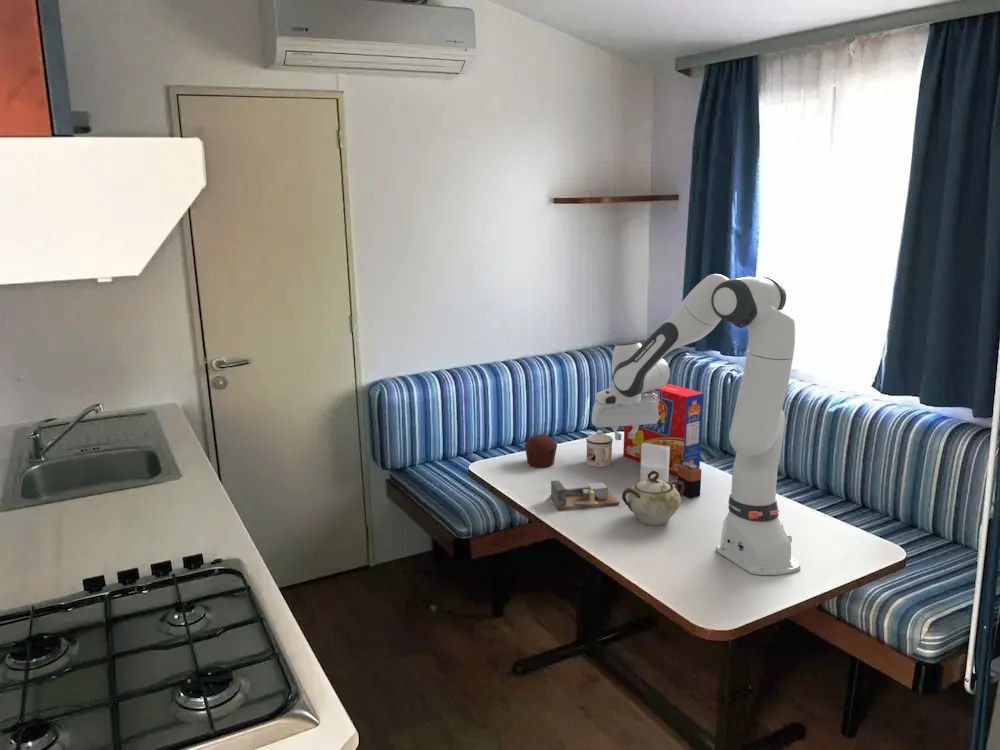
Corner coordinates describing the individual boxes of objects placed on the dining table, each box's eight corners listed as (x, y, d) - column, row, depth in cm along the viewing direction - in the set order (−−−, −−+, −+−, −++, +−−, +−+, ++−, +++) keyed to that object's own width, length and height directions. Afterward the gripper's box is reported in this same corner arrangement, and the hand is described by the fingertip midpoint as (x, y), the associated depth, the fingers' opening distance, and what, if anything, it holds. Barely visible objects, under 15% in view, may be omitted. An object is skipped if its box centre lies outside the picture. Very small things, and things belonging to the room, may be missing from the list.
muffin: (557, 469, 274) (557, 441, 271) (524, 469, 274) (524, 441, 272) (556, 458, 285) (556, 431, 283) (524, 458, 286) (524, 430, 283)
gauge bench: (608, 493, 253) (608, 475, 251) (618, 505, 243) (619, 486, 242) (549, 498, 249) (549, 479, 248) (557, 510, 240) (558, 491, 238)
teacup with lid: (581, 460, 283) (582, 428, 280) (605, 457, 286) (606, 425, 283) (595, 471, 272) (596, 438, 269) (620, 468, 274) (621, 435, 272)
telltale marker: (592, 499, 243) (592, 490, 242) (594, 501, 242) (594, 492, 241) (589, 500, 243) (589, 490, 242) (591, 502, 241) (591, 492, 241)
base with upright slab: (671, 479, 265) (673, 444, 262) (663, 488, 257) (665, 452, 254) (645, 474, 269) (646, 440, 266) (636, 483, 261) (637, 448, 258)
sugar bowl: (633, 534, 223) (635, 483, 220) (610, 514, 237) (611, 465, 233) (696, 525, 229) (699, 475, 225) (670, 505, 243) (672, 458, 239)
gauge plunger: (602, 493, 249) (603, 482, 248) (610, 502, 243) (610, 491, 242) (580, 495, 248) (581, 484, 247) (587, 504, 241) (588, 492, 240)
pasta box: (623, 456, 287) (625, 380, 280) (639, 452, 291) (642, 376, 285) (682, 479, 264) (686, 396, 258) (699, 474, 269) (703, 393, 262)
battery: (689, 499, 248) (690, 468, 245) (675, 491, 254) (677, 461, 251) (700, 496, 249) (702, 466, 247) (686, 489, 255) (688, 459, 253)
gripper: (655, 390, 246) (653, 433, 249) (590, 394, 242) (589, 438, 245) (663, 395, 240) (661, 440, 243) (596, 399, 236) (596, 444, 239)
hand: (624, 439), depth 244 cm, fingers open, 3 cm apart
